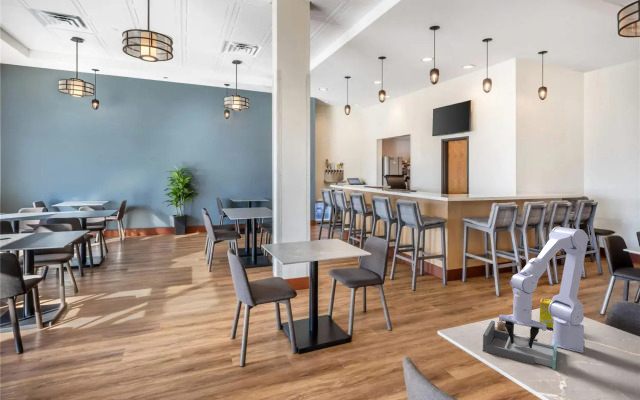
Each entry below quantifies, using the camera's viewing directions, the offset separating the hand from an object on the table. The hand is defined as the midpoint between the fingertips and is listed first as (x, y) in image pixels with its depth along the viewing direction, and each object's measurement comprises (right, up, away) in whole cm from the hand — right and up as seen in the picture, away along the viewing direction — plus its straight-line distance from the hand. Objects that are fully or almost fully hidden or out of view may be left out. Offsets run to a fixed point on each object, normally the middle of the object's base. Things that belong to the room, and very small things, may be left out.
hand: (521, 344), depth 123 cm
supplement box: (+24, -2, +21) cm, 32 cm away
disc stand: (+1, -2, +16) cm, 17 cm away
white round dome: (0, 0, 0) cm, 0 cm away
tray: (+3, -3, -2) cm, 4 cm away
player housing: (-3, -2, +2) cm, 4 cm away
